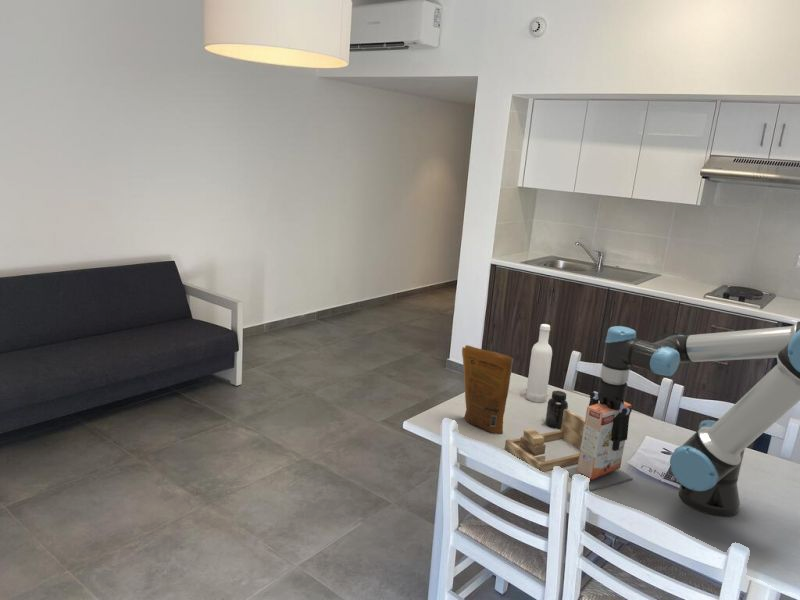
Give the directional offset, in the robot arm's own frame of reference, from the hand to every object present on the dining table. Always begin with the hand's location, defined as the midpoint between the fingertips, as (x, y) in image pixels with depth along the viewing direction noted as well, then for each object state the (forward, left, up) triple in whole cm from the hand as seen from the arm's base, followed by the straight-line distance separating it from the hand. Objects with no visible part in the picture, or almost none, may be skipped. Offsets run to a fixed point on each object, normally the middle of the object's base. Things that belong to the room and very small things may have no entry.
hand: (601, 453), depth 175 cm
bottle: (+53, -21, -8) cm, 58 cm away
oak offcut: (+16, +12, -2) cm, 20 cm away
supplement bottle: (+32, -12, -8) cm, 35 cm away
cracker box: (0, 0, -6) cm, 6 cm away
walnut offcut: (+16, +12, -5) cm, 21 cm away
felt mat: (0, 0, -7) cm, 7 cm away
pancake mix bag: (+40, +14, -8) cm, 43 cm away
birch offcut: (+16, +12, -8) cm, 21 cm away
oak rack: (+16, +4, -7) cm, 18 cm away
